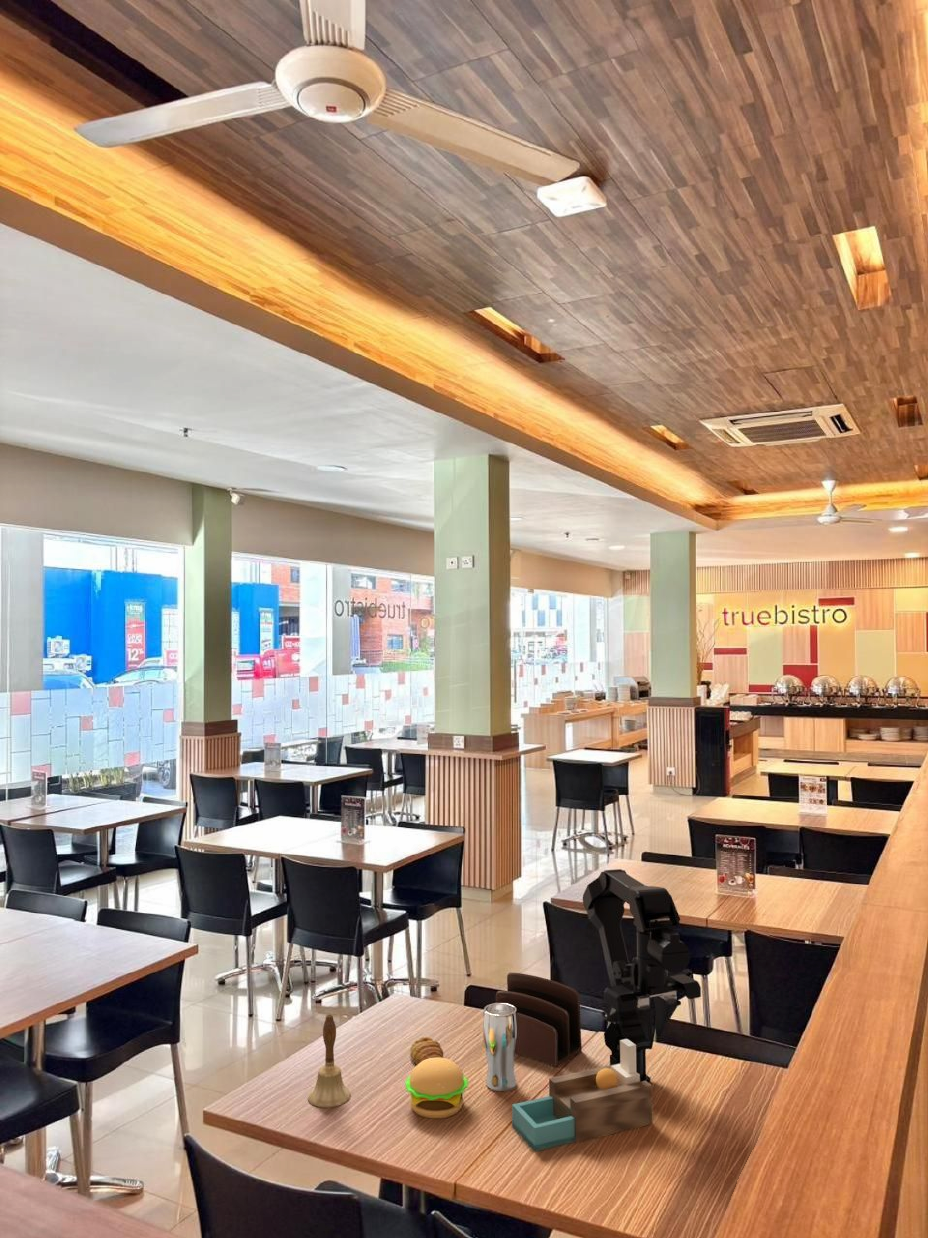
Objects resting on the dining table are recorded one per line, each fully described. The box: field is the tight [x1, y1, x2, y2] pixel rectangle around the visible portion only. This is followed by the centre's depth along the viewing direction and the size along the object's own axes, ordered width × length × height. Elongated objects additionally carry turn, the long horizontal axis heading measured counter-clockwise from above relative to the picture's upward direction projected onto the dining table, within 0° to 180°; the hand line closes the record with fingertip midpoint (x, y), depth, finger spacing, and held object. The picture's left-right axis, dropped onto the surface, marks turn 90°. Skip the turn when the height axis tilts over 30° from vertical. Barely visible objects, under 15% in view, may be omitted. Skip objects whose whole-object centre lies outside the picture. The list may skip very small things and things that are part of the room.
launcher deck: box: [548, 1063, 653, 1144], centre depth 169 cm, size 16×10×7 cm, turn 113°
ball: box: [596, 1068, 618, 1090], centre depth 169 cm, size 4×4×4 cm
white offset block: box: [611, 1039, 640, 1087], centre depth 171 cm, size 3×5×8 cm, turn 23°
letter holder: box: [483, 972, 583, 1068], centre depth 200 cm, size 10×20×14 cm, turn 50°
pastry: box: [409, 1036, 444, 1066], centre depth 193 cm, size 9×7×4 cm
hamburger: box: [405, 1057, 469, 1119], centre depth 174 cm, size 12×12×9 cm
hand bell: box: [307, 1013, 352, 1109], centre depth 178 cm, size 8×8×16 cm
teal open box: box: [511, 1095, 576, 1152], centre depth 164 cm, size 8×9×4 cm
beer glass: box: [482, 1002, 518, 1092], centre depth 183 cm, size 7×7×15 cm
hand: (653, 1037), depth 174 cm, fingers open, 2 cm apart
